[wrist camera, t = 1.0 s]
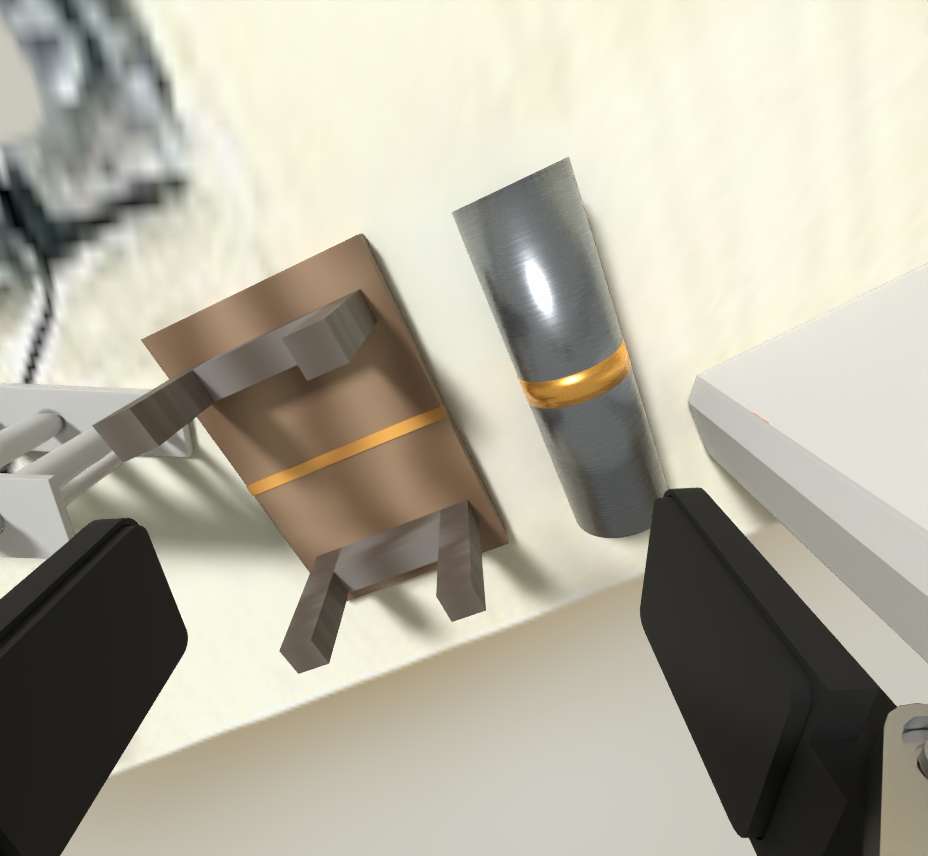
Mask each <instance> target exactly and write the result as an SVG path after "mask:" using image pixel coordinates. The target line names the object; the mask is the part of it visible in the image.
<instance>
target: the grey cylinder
mask: <svg viewBox="0 0 928 856" xmlns="http://www.w3.org/2000/svg"><path fill="white" fill-rule="evenodd" d="M452 214H453V217H454V219H455V222H456V224H457V227H458V229H459V232H460V234H461V237H462V239H463V242H464V244H465V247H466V249H467V252H468V254H469V257H470V259H471V261H472V264H473V266H474V269H475V271H476V274H477V276H478V279H479V281H480V284H481V286H482V289H483V291H484V294H485V296H486V299H487V301H488V304H489V306H490V308H491V311H492V313H493V316H494V318H495V321H496V323H497V326H498V328H499V331H500V333H501V336H502V338H503V341H504V343H505V346H506V348H507V350H508V353H509V355H510V358H511V360H512V363H513V365H514V368H515V370H516V373H517V376H518V379H519V381H520V384H521V386H522V389H523V391H524V393H525V396H526V398H527V401H528V402H529V405H530V407H531V410H532V412H533V415H534V417H535V420H536V422H537V425H538V427H539V430H540V432H541V435H542V437H543V439H544V442H545V444H546V447H547V449H548V452H549V454H550V457H551V459H552V462H553V464H554V467H555V469H556V472H557V474H558V477H559V479H560V482H561V484H562V486H563V489H564V491H565V494H566V496H567V499H568V501H569V504H570V506H571V509H572V511H573V514H574V516H575V519H576V521H577V523H578V525H579V526H580V527H581V528H582V529H583V530H584V531H586V532H587V533H589V534H592V535H594V536H598V537H603V538H621V537H627V536H631V535H635V534H638V533H640V532H643V531H645V530H647V529H649V528H651V523H652V515H653V507H654V502H655V500H656V499H657V498H663V496H664V493H665V492H666V491H667V490H668V487H667V484H666V481H665V477H664V474H663V471H662V467H661V464H660V460H659V457H658V454H657V450H656V447H655V444H654V440H653V437H652V434H651V430H650V427H649V424H648V420H647V417H646V414H645V410H644V407H643V403H642V400H641V397H640V393H639V390H638V387H637V383H636V380H635V377H634V373H633V370H632V367H631V362H630V358H629V355H628V352H627V348H626V345H625V342H624V338H623V336H622V333H621V330H620V326H619V323H618V320H617V316H616V313H615V310H614V306H613V303H612V299H611V296H610V293H609V289H608V286H607V283H606V279H605V276H604V273H603V269H602V266H601V263H600V259H599V256H598V253H597V249H596V246H595V242H594V239H593V236H592V232H591V229H590V226H589V222H588V219H587V216H586V212H585V209H584V206H583V202H582V199H581V195H580V192H579V189H578V185H577V182H576V179H575V175H574V172H573V169H572V165H571V162H570V159H569V157H567V158H565V159H563V160H561V161H559V162H557V163H555V164H553V165H551V166H548V167H546V168H544V169H542V170H540V171H538V172H536V173H534V174H532V175H530V176H527V177H525V178H523V179H521V180H519V181H517V182H515V183H513V184H511V185H509V186H506V187H504V188H502V189H500V190H498V191H496V192H494V193H492V194H490V195H488V196H485V197H483V198H481V199H479V200H477V201H475V202H473V203H471V204H469V205H467V206H465V207H462V208H460V209H458V210H456V211H454V212H452Z"/></svg>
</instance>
